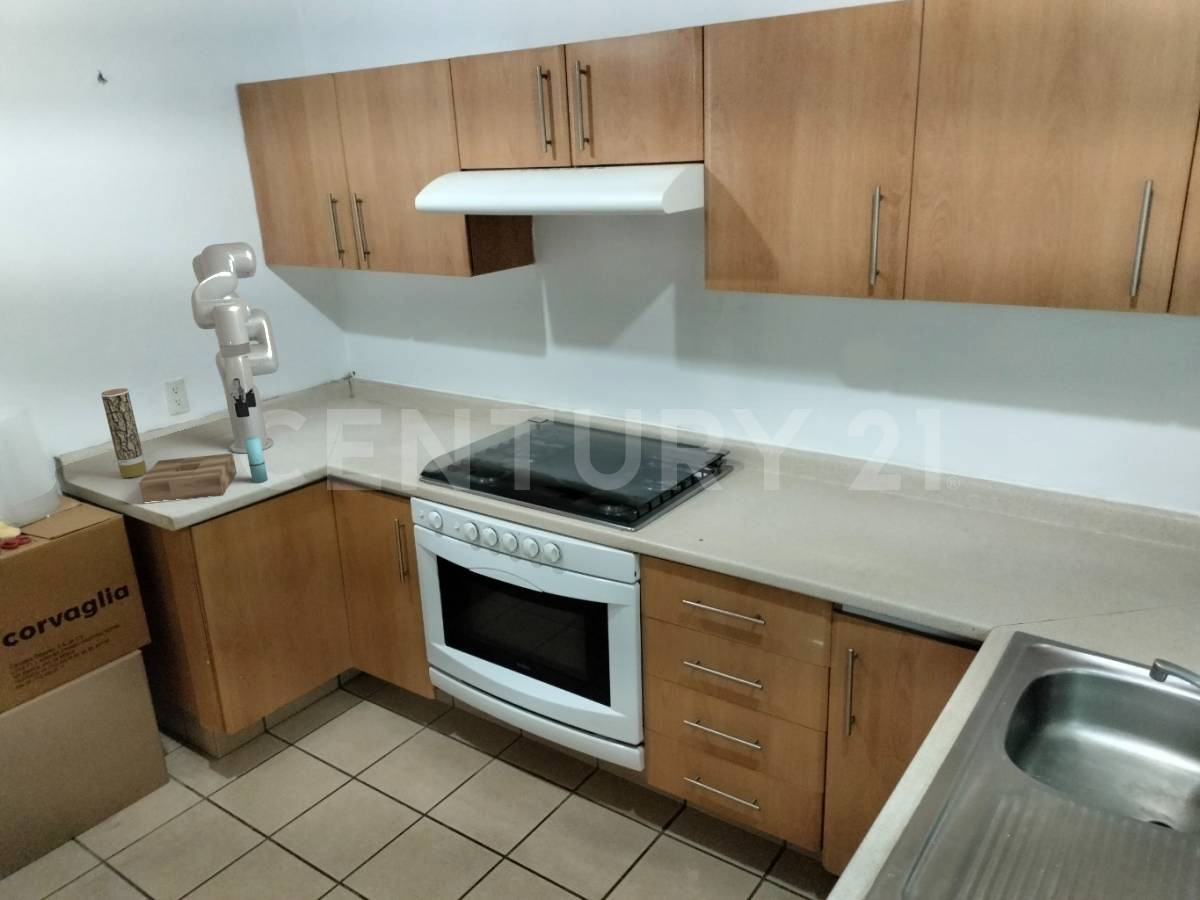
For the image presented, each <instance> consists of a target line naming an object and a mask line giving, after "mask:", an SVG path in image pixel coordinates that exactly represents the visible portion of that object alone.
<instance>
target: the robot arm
mask: <svg viewBox="0 0 1200 900" xmlns="http://www.w3.org/2000/svg"><path fill="white" fill-rule="evenodd" d="M191 263H192V264H191V265H192V269H193V273H194V275H195V278H196V280H197V282H198V284H197V285H196V286H195V287H194V289H193V290H192V293H191V297H190V303H191V308H192V309H191V310H192V316H193V320H194V322H195V325H196V326H197V327H198V328H200V329H201V330H213V329H214V331H215V334H216V335H215V336H216V338H217V341H218V347H219V351H218V352H217V353H216V354H215V365H216V368H217V370H218V374H219V376H220V379H221V382H222V386H223V390H224V395H225V400H226V404H227V410H228V414H229V415H228V416H229V420H230V424H231V431H232V435H233V440H234V442H233V443H231V445H230V446H229V449H230V452H232V453H235V454H247V450H246V445H245V440H246V439H249V438H254V437H258V438H260V440H261V446H262V451H263V450H266V449H269V448H270V447H272V446H273V445H274V439H273V438H271V437H268V434H267V429H266V425H265V424H266V423H265V417H264V414H263V408H262V401H261V396H260V391H259V389H258V388H257V386H256V385H255V384H254V378H253V377H257V376H264V375H270V374H274V373H276V372H277V371H278V370H279V357H278V352H277V347H276V342H275V338H274V332H273V328H272V324H271V320H270V318H269V315H268V313H267V312H266V311H265V310H264V309H260V308H252V309H251V306H250V304H249V303H248V302H247V301H246V300H245V299H244V298H242V297H240V296H239V295H238V293H237V292H236V289H237V288H238V285H239V280H240V279H248V278H253V277H254V276H255V275H256V272H257V266H258V265H257V256H256V253H255V250H254V248H253V247H252V246H251V245H250V244H249V243H247V242H245V241H244V242H243V241H236V242H225V243H214V244H211V245H208V246H206V247H205V248H204V249H202V252H201V253H200V254H198V255H195V256H194V257H193V259H192V262H191ZM254 341H255V342H257V343H254V344H250V342H254Z"/></svg>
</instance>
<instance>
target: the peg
mask: <svg viewBox="0 0 1200 900" xmlns="http://www.w3.org/2000/svg"><path fill="white" fill-rule="evenodd" d="M245 445H246V450H247V453H246V454H247V459H248V465H249V470H250V476H251V481H252V483H253V484H262V483H265V482H267V481H268V480H269V479H268V474H267V473H268V472H267V468H266V464H265V457H264V452H263V450H262V446H261V440H260V438H258V437H254V438H249V439H246V440H245Z"/></svg>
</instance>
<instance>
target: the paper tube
mask: <svg viewBox="0 0 1200 900" xmlns="http://www.w3.org/2000/svg"><path fill="white" fill-rule="evenodd" d="M130 397H131V396H130V392H129V389H128V388H114V389H109V390H105V391H102V392H101V400H102V403H103V408H104V411H105V416H106V420H107V424H108V428H109V433H110V437H111V440H112V444H113V449H114V454H115V457H116V461H117V465H118V469H119V472H120V477H122V478H123V477H126V478H125V479H129V478H128V477H135V478H138V477H137V476H139V477H141V476H140V475H142V476H143V474H144V475H146V474H147V467H146V461H145V458H144V454H143V449H142V445H141V440H140V436H139V431H138V427H137V423H136V418H135V415H134V409H133V406H132V402H131V398H130Z"/></svg>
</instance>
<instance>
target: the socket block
mask: <svg viewBox="0 0 1200 900" xmlns="http://www.w3.org/2000/svg"><path fill="white" fill-rule="evenodd" d="M237 474H238V473H237V466H236V462H235V458H234V452H232V453H230V452H229V453H220V454H211V455H200V456H190V457H181V458H180V457H179V458H173V459H163V460H162V459H161V460H158V461H157V462H156V463H155V464H154V465H153V466H152V467H151V469H149V471H148V472H146V473H145V474H144V476H143V477H142V479H141V480H140V481H139V482H138V484H139V485H138V486H139V489H140V493H141V497H142V500H143V501H142V502H143V503H144V502H151V501H163V500H176V499H185V500H191V499H190V498H194V499H200V498H199V497H204V498H209V497H208V496H213V497H220V496H221V495H222V496H224V495H225V493H226V492H227V490H228V488H229V487H230V485H231V483H232V481H233V480H234V478H235V477H236V475H237ZM234 476H235V477H234ZM229 484H230V485H229ZM226 489H227V490H226ZM223 494H224V495H223ZM176 501H177V500H176Z"/></svg>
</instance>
